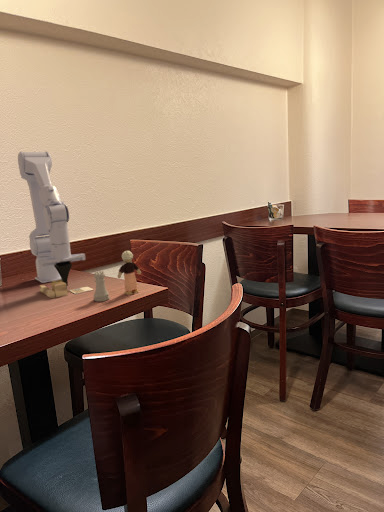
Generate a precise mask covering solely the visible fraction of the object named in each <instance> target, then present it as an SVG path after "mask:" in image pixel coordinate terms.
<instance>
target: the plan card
mask: <svg viewBox="0 0 384 512" xmlns="http://www.w3.org/2000/svg"><path fill="white" fill-rule="evenodd" d="M90 291H94V288H91V287H89V286H84V287H83V286H82V287H79V288H78V287H77V288H74V289H69V292H70V293H73V294H74V295H77V294H81V293H86V292H87V293H88V292H90Z"/></svg>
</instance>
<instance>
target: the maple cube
mask: <svg viewBox="0 0 384 512" xmlns="http://www.w3.org/2000/svg"><path fill="white" fill-rule="evenodd" d="M50 285H51V290H53V291H54V292H55V298H61V297H65V296H68V295H69V293H68V286H67V284H66V283H64V282H58V283H53V284H52V283H51V284H50Z"/></svg>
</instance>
